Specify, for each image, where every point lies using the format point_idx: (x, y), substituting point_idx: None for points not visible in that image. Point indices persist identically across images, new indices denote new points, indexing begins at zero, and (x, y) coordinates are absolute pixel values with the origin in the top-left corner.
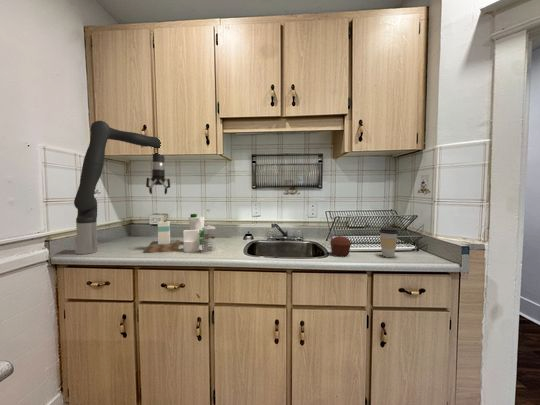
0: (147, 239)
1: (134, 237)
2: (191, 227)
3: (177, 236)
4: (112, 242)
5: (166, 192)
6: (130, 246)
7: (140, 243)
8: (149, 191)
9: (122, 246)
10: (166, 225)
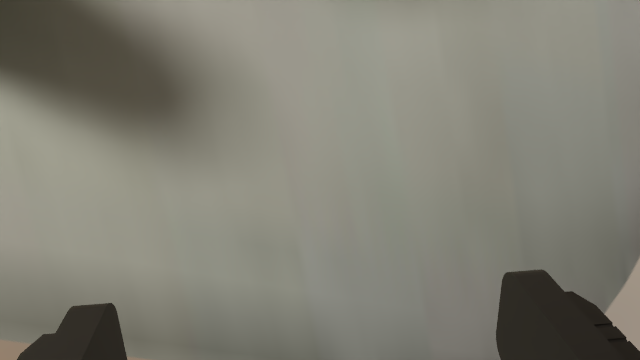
0: (395, 267)
1: (495, 353)
2: None
3: (186, 342)
4: (614, 206)
5: (34, 356)
6: (477, 23)
7: (421, 124)
8: (603, 319)
9: (533, 39)
10: None
